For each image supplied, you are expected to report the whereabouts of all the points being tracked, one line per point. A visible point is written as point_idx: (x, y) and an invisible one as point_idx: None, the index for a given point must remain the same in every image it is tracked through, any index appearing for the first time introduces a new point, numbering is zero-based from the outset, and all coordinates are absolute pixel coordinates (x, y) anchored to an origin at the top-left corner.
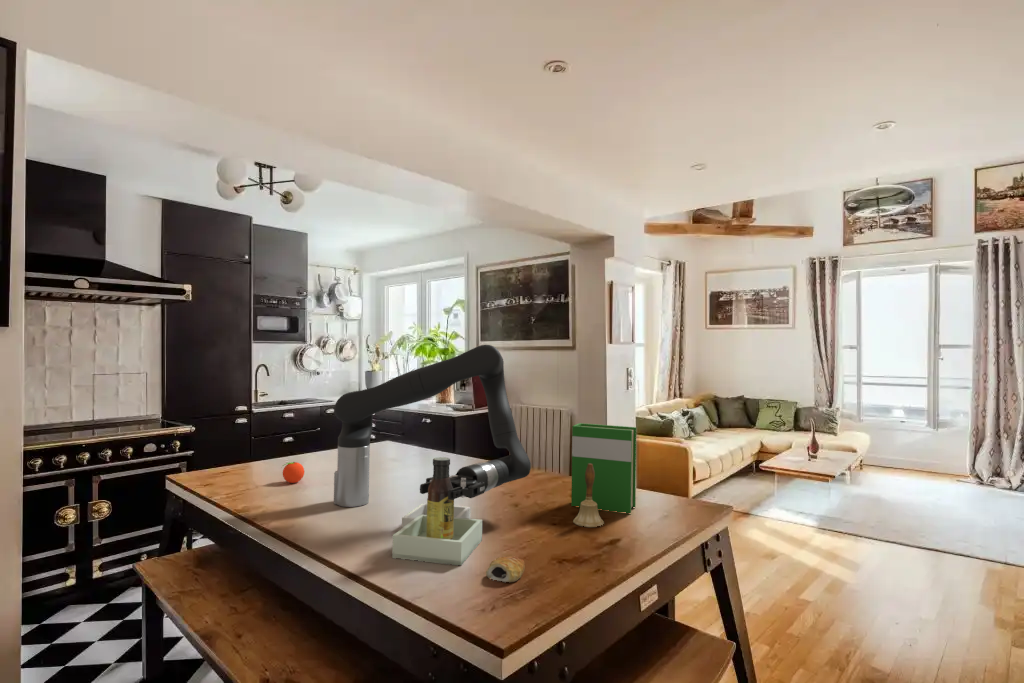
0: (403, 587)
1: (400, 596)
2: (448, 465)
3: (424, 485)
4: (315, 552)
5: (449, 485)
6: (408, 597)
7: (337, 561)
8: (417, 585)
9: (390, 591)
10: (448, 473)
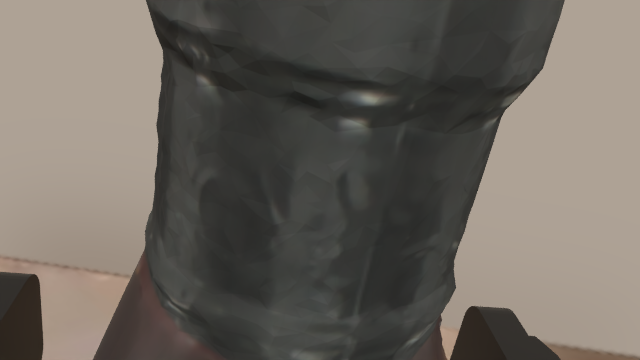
0: (95, 302)
1: (69, 268)
2: (156, 21)
3: (482, 334)
4: (586, 351)
5: (97, 350)
6: (39, 271)
7: (455, 337)
8: (50, 327)
9: (120, 275)
10: (158, 204)
